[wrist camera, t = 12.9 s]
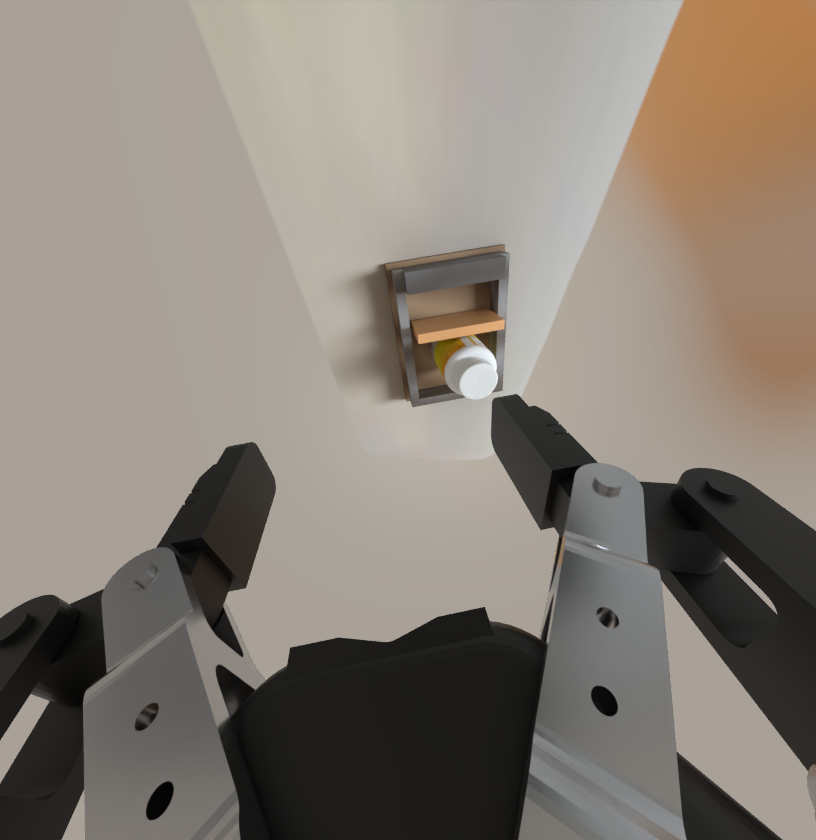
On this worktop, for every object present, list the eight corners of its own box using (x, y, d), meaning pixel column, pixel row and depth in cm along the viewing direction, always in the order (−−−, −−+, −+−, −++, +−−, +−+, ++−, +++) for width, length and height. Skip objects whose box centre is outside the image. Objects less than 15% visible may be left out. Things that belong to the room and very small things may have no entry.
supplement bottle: (429, 367, 39) (448, 408, 31) (431, 324, 36) (452, 357, 28) (470, 365, 40) (500, 404, 31) (476, 322, 37) (511, 353, 28)
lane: (384, 263, 32) (388, 269, 28) (502, 244, 33) (521, 247, 29) (405, 398, 42) (410, 417, 38) (496, 382, 43) (510, 398, 39)
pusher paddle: (410, 321, 35) (417, 334, 31) (487, 307, 35) (504, 319, 31) (411, 329, 36) (418, 344, 31) (487, 316, 36) (504, 329, 32)
